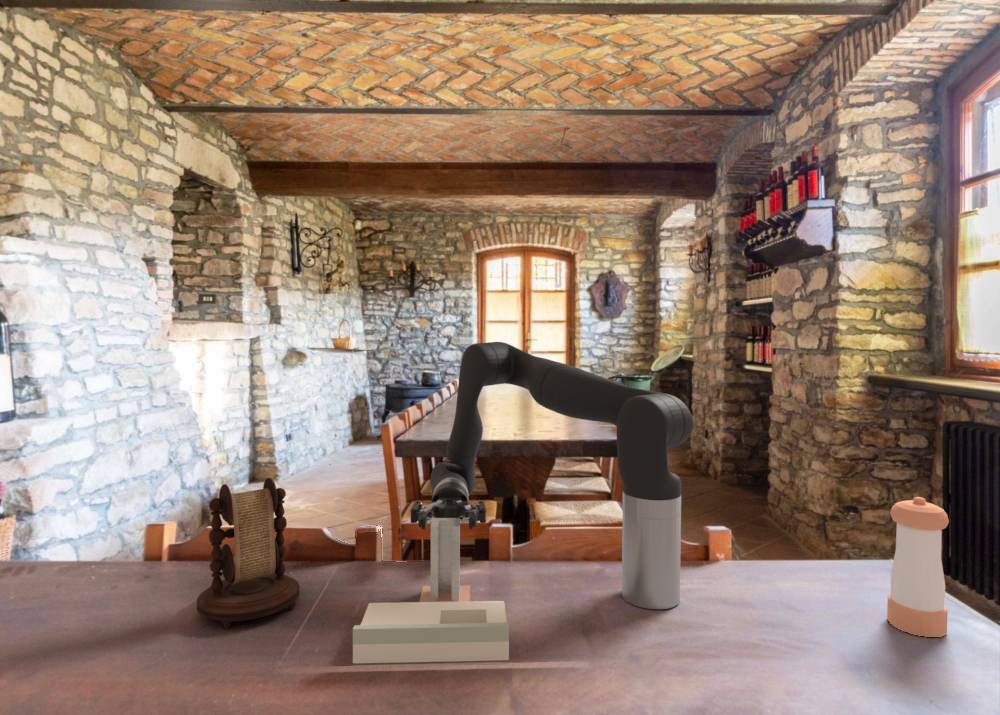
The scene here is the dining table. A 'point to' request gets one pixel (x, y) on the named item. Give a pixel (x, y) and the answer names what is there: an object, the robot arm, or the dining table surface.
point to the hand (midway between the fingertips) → (447, 524)
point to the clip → (445, 558)
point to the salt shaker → (918, 569)
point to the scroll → (248, 557)
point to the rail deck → (432, 633)
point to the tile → (445, 594)
